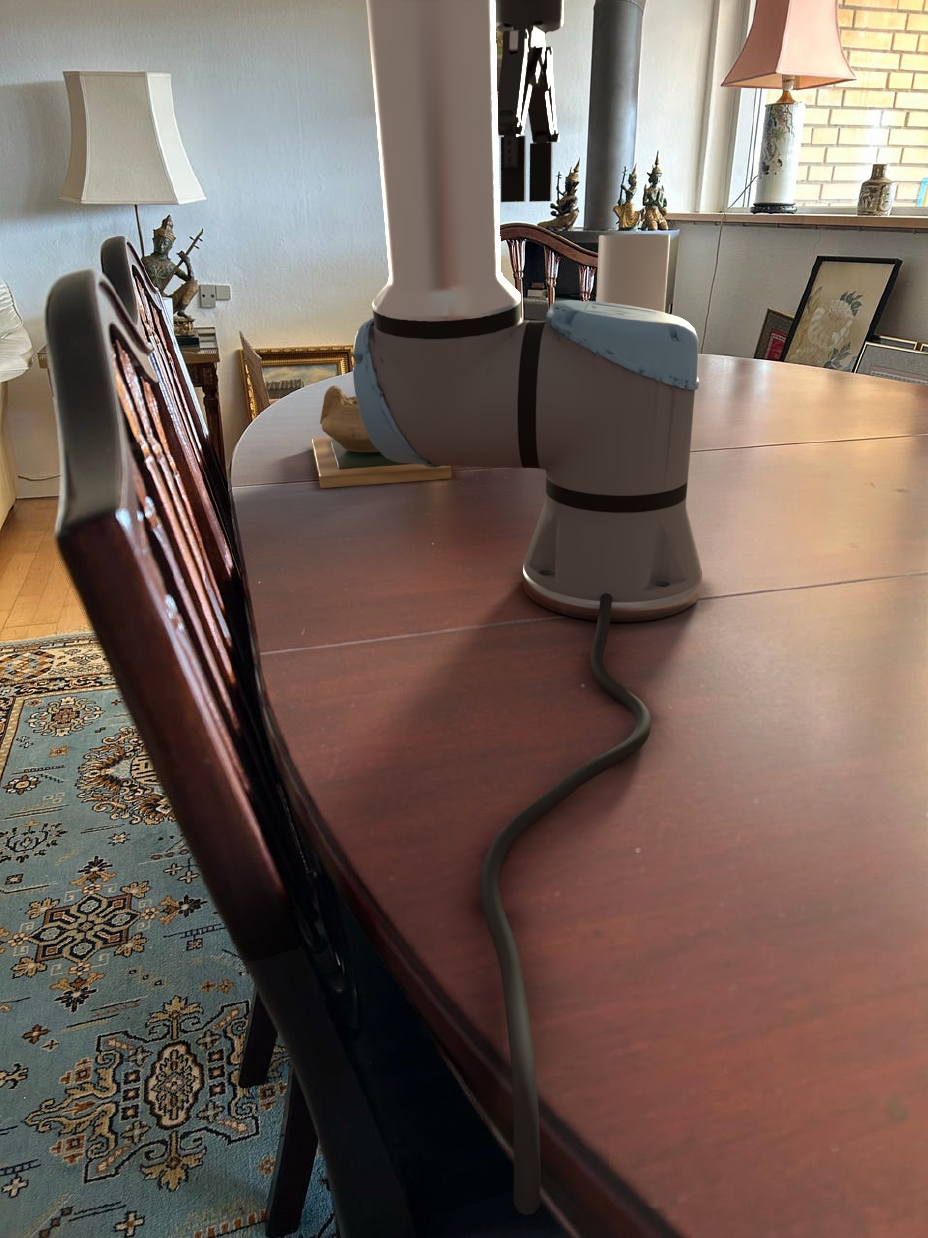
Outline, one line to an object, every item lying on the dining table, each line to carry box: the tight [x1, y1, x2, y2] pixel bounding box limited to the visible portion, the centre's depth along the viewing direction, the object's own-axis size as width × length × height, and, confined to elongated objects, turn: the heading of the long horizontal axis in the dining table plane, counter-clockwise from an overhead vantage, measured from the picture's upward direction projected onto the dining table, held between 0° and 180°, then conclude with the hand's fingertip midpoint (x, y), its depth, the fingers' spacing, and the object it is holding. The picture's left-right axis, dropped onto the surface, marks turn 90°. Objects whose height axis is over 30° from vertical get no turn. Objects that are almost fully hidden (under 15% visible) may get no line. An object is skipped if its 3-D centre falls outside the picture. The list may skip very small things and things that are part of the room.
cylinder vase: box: [595, 233, 671, 313], centre depth 164 cm, size 12×12×25 cm
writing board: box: [311, 436, 452, 489], centre depth 117 cm, size 20×16×2 cm
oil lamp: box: [319, 385, 379, 452], centre depth 115 cm, size 11×15×8 cm
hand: (527, 201), depth 106 cm, fingers open, 13 cm apart
